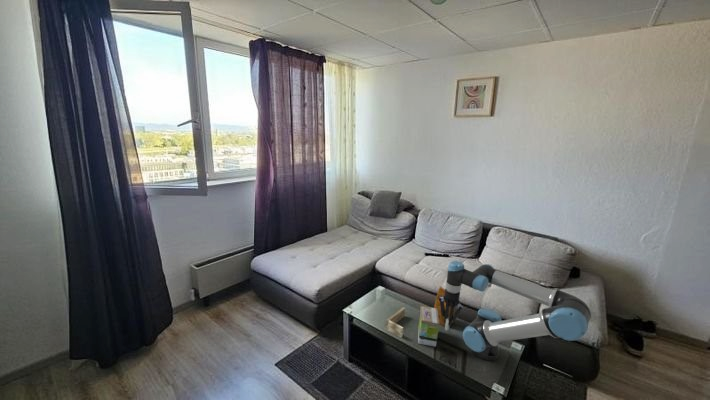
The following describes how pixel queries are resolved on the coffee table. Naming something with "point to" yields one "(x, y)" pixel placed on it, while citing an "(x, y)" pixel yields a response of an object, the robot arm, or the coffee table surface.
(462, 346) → the coffee table surface
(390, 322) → the birch corner fence
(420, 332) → the tea box
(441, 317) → the coffee package
